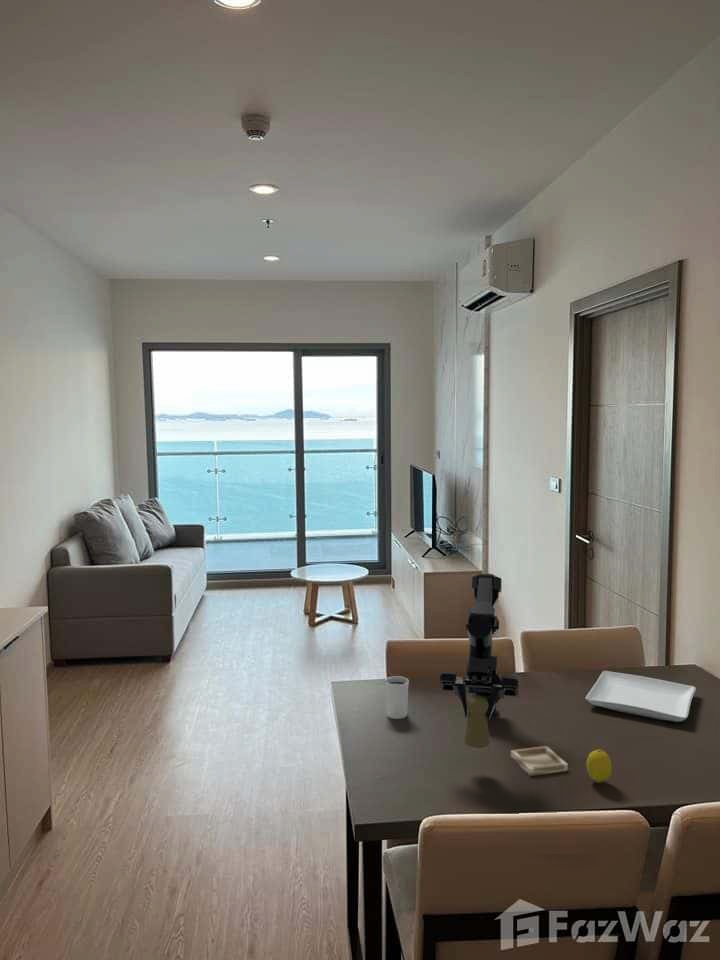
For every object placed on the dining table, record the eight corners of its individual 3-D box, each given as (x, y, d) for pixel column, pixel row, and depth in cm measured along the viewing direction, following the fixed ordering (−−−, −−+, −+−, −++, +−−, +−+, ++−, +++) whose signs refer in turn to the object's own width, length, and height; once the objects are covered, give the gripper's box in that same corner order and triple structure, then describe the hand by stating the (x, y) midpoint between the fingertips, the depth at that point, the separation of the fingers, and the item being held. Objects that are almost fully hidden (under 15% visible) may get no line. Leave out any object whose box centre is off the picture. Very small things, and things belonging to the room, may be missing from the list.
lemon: (582, 777, 170) (583, 744, 169) (604, 776, 170) (606, 743, 170) (591, 789, 164) (592, 755, 164) (615, 788, 165) (616, 754, 164)
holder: (510, 756, 180) (510, 750, 180) (546, 751, 183) (546, 745, 182) (529, 776, 170) (530, 769, 170) (567, 770, 173) (567, 764, 173)
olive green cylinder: (475, 750, 169) (476, 705, 168) (459, 739, 174) (459, 696, 173) (495, 744, 172) (495, 699, 171) (478, 734, 177) (479, 691, 176)
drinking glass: (403, 708, 209) (403, 675, 208) (412, 717, 203) (412, 683, 202) (381, 711, 207) (381, 677, 206) (389, 720, 201) (389, 686, 200)
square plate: (686, 730, 196) (687, 716, 195) (583, 710, 209) (584, 697, 209) (696, 696, 219) (696, 684, 219) (603, 680, 233) (603, 668, 232)
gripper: (440, 639, 176) (435, 701, 167) (518, 645, 172) (517, 708, 163) (443, 659, 185) (438, 719, 175) (518, 665, 181) (517, 726, 171)
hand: (477, 718), depth 171 cm, fingers closed on olive green cylinder, 5 cm apart
